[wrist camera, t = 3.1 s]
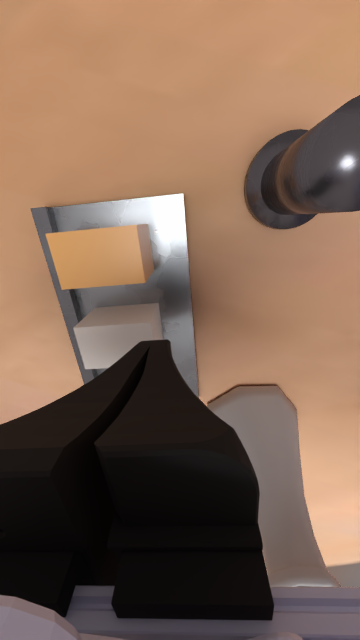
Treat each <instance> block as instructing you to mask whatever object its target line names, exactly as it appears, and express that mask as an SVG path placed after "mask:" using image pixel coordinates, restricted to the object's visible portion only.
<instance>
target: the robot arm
mask: <svg viewBox="0 0 360 640" xmlns="http://www.w3.org/2000/svg"><path fill="white" fill-rule="evenodd" d="M259 497H260V491H259V484H258V480H257V476H256V473H255V471H254V468H253V466H252V463H251V461H250V459H249V456H248V454H247V452H246V450H245V448H244V446H243V444H242V442H241V440H240V439H239V437H238V435H237V433H236V431H235V430H234V428H232V427H231V426H230V425H228V424H227V423H226V422H224V421H223V420H222V419H220V418H219V417H218V416H217V415H215V414H214V413H213V412H212V411H211V410H210V409H209V408H208V407H207V406H205V404H204V403H203V402H202V401H201V400H200V399H199V398H198V397H197V396H196V395H195V394H194V393H193V391H192V390H191V389H190V387H189V386H188V385H187V383H186V382H185V380H184V379H183V377H182V376H181V374H180V372H179V370H178V369H177V367H176V364H175V362H174V360H173V357H172V350H171V342H170V341H169V340H168V339H165V340H149V341H140V342H139V343H138V344H137V345H135V346H134V347H133V348H132V349H131V350H130V351H128V352H127V353H126V354H125V355H124V356H123V357H121V358H120V359H119V360H118V361H117V362H115V363H114V364H113V365H112V366H110V367H109V368H108V369H106V370H105V371H104V372H102V373H101V374H100V375H98V376H97V377H96V378H94V379H93V380H91V381H90V382H88V383H86V384H85V385H83V386H81V387H80V388H78V389H77V390H75V391H73V392H71V393H69V394H67V395H65V396H64V397H62V398H60V399H58V400H56V401H54V402H52V403H50V404H48V405H46V406H44V407H42V408H40V409H38V410H35V411H33V412H31V413H28V414H26V415H24V416H21V417H19V418H17V419H14V420H12V421H9V422H7V423H4V424H1V425H0V640H360V587H270V584H269V579H268V575H267V570H266V566H265V561H264V557H263V552H262V550H263V543H262V537H261V533H260V529H259V524H258V512H259Z"/></svg>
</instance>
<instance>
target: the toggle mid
mask: <svg viewBox="0 0 360 640" xmlns="http://www.w3.org/2000/svg"><path fill="white" fill-rule="evenodd" d="M73 329H74V333H75V336H76V339H77V343H78V346H79V350H80V353H81V356H82V360H83V363H84V367H85V369H101V368H109V367H110V366H112V365H113V364H114V363H115V362H117V361H118V360H119V359H120V358H121V357H123V356H124V355H125V354H126V353H127V352H128V351H130V350H131V349H132V348H133V347H134V346H135V345H137V344H138V343H139V342H140V341H149V340H163V333H162V325H161V318H160V310H159V303H150V304H137V305H124V306H110V307H97V308H94V309H93V310H92V311H91V312H90V313H89V314H88V315H87V316H86V317H84V318H83V319H82V320H81V321H80V322H79V323H78V324H77V325H76V326H75V327H74V328H73Z"/></svg>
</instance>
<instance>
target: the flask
mask: <svg viewBox="0 0 360 640" xmlns="http://www.w3.org/2000/svg"><path fill="white" fill-rule="evenodd" d="M208 408H209V409H210V410H211V411H212V412H213V413H214V414H215V415H217V416H218V417H219V418H220V419H222V420H223V421H224V422H226V423H227V424H228V425H230V426H231V427H232V428H234V430H235V431H236V433H237V435H238V437H239V439H240V440H241V442H242V444H243V446H244V448H245V450H246V452H247V454H248V456H249V459H250V461H251V463H252V466H253V468H254V471H255V473H256V476H257V480H258V484H259V491H260V497H259V512H258V524H259V529H260V533H261V537H262V543H263V550H262V551H263V556H264V560H265V564H266V569H267V573H268V579H269V584H270V587H341V586H340V584H339V582H338V581H337V580H336V578H335V577H333V576H332V575H331V574H330V573H329V572H328V570H327V568H326V566H325V563H324V561H323V558H322V555H321V553H320V550H319V548H318V545H317V542H316V540H315V537H314V533H313V529H312V525H311V521H310V517H309V513H308V509H307V505H306V501H305V497H304V489H303V479H302V470H301V460H300V450H299V434H298V419H297V409H296V408H295V407H294V406H293V405H292V403H291V402H290V401H289V400H288V398H287V397H286V396H285V395H284V393H283V392H282V391H281V390H280V388H279V387H278V386H238V387H236V388H235V389H233V390H231V391H230V392H228V393H226V394H225V395H223V396H221V397H219V398H218V399H216V400H214V401H213V402H211V403H209V404H208Z"/></svg>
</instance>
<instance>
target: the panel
mask: <svg viewBox="0 0 360 640" xmlns="http://www.w3.org/2000/svg"><path fill="white" fill-rule="evenodd" d="M30 209H31V212H32V215H33V219H34V222H35V225H36V228H37V232H38V235H39V238H40V241H41V245H42V248H43V251H44V254H45V258H46V261H47V264H48V268H49V271H50V274H51V277H52V281H53V284H54V287H55V290H56V294H57V297H58V300H59V303H60V307H61V310H62V313H63V317H64V320H65V323H66V326H67V330H68V333H69V336H70V339H71V343H72V346H73V349H74V352H75V356H76V359H77V362H78V366H79V369H80V372H81V375H82V379H83V382H84V385H85V384H86V383H88V382H90V381H91V380H93V379H94V378H96V377H97V376H98V375H100V374H101V373H102V372H104V371H105V370H106V369H108V368H101V369H85V367H84V363H83V360H82V356H81V353H80V350H79V346H78V343H77V339H76V336H75V333H74V329H73V328H74V327H75V326H76V325H77V324H78V323H79V322H80V321H81V320H82V319H83V318H84V317H86V316H87V315H88V314H89V313H90V312H91V311H92V310H93V309H94V308H97V307H110V306H124V305H137V304H150V303H159V310H160V318H161V325H162V333H163V340H165V339H168V340H169V341H170V342H171V350H172V357H173V360H174V362H175V364H176V367H177V369H178V370H179V372H180V374H181V376H182V377H183V379H184V380H185V382H186V383H187V385H188V386H189V387H190V389H191V390H192V391H193V393H194V394H195V395H196V396H197V397H198V398H199V394H198V380H197V367H196V354H195V341H194V327H193V314H192V301H191V288H190V275H189V261H188V248H187V235H186V222H185V208H184V195H183V194H173V195H164V196H155V197H145V198H136V199H126V200H117V201H108V202H98V203H89V204H80V205H70V206H61V207H40V208H30ZM138 224H148V228H149V235H150V243H151V250H152V258H153V265H154V271H153V273H152V274H151V275H150V277H149V278H148V280H147V281H146V283H139V284H126V285H114V286H102V287H89V288H77V289H65V290H62V289H61V285H60V282H59V278H58V275H57V272H56V268H55V265H54V261H53V258H52V255H51V251H50V248H49V245H48V241H47V238H46V234H47V233H57V232H67V231H77V230H87V229H97V228H108V227H118V226H128V225H138Z"/></svg>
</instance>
